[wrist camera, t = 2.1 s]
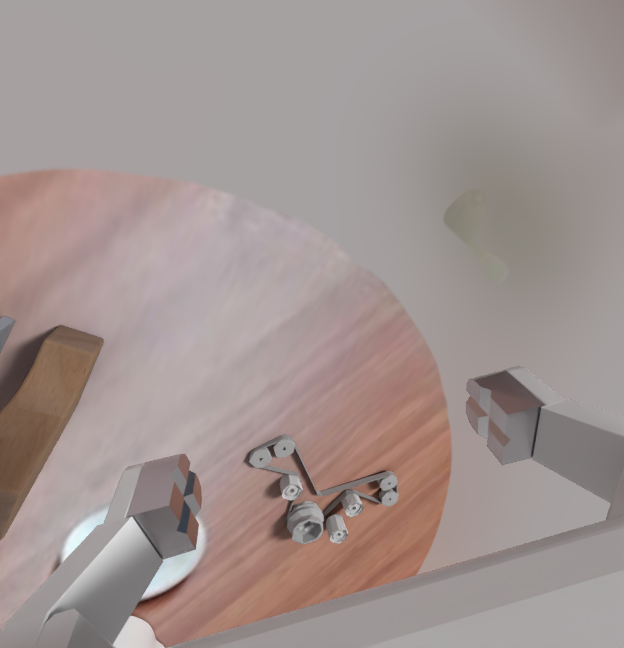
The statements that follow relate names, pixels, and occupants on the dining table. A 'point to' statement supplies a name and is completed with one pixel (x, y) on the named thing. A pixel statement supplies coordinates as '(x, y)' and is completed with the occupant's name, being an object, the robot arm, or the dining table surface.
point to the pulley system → (307, 515)
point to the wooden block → (41, 413)
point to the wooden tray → (5, 329)
